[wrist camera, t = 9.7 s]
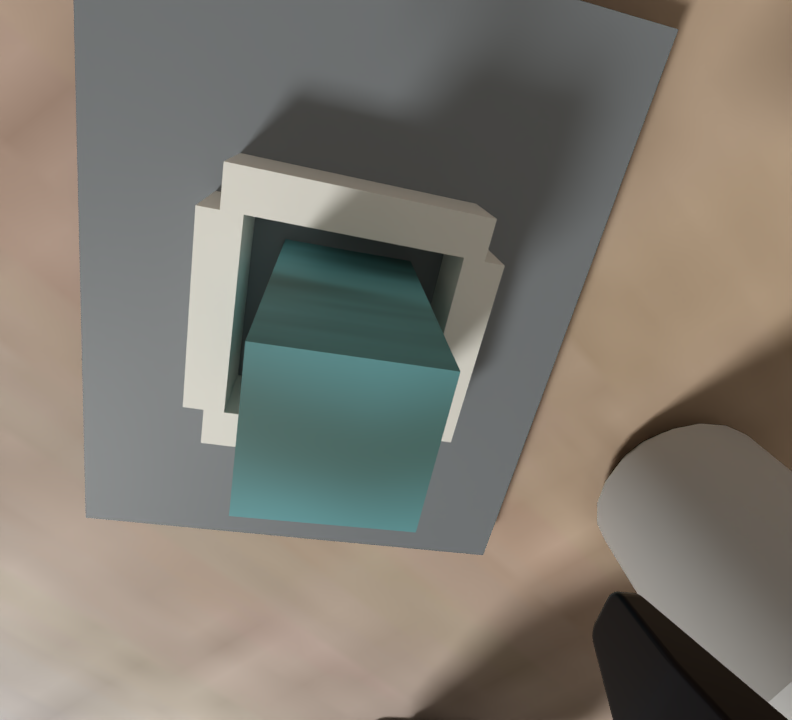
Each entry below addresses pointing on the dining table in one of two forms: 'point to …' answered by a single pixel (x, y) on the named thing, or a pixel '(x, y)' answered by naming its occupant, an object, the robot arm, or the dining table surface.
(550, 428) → the dining table surface
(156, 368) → the holder
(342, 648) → the dining table surface
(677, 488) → the can
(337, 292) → the peg
